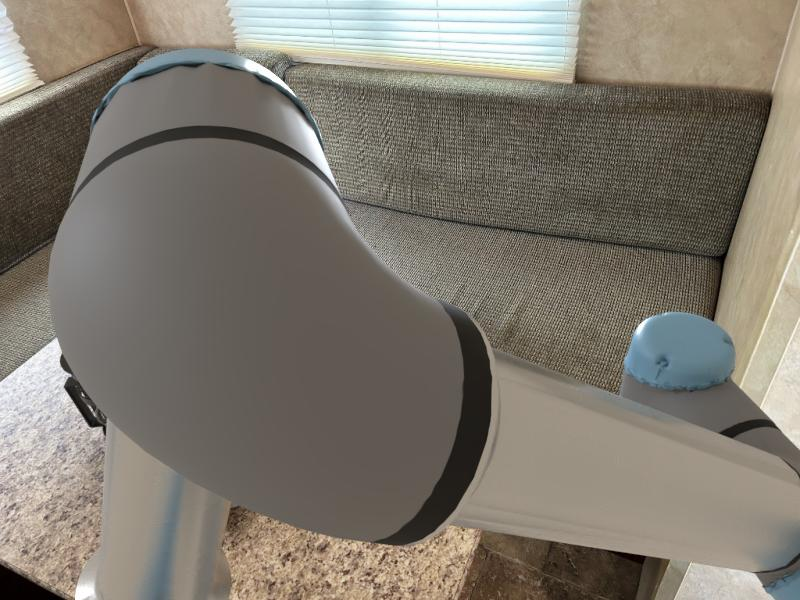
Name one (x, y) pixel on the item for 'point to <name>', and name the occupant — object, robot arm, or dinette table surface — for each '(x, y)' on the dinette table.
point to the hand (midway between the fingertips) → (361, 369)
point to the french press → (82, 399)
